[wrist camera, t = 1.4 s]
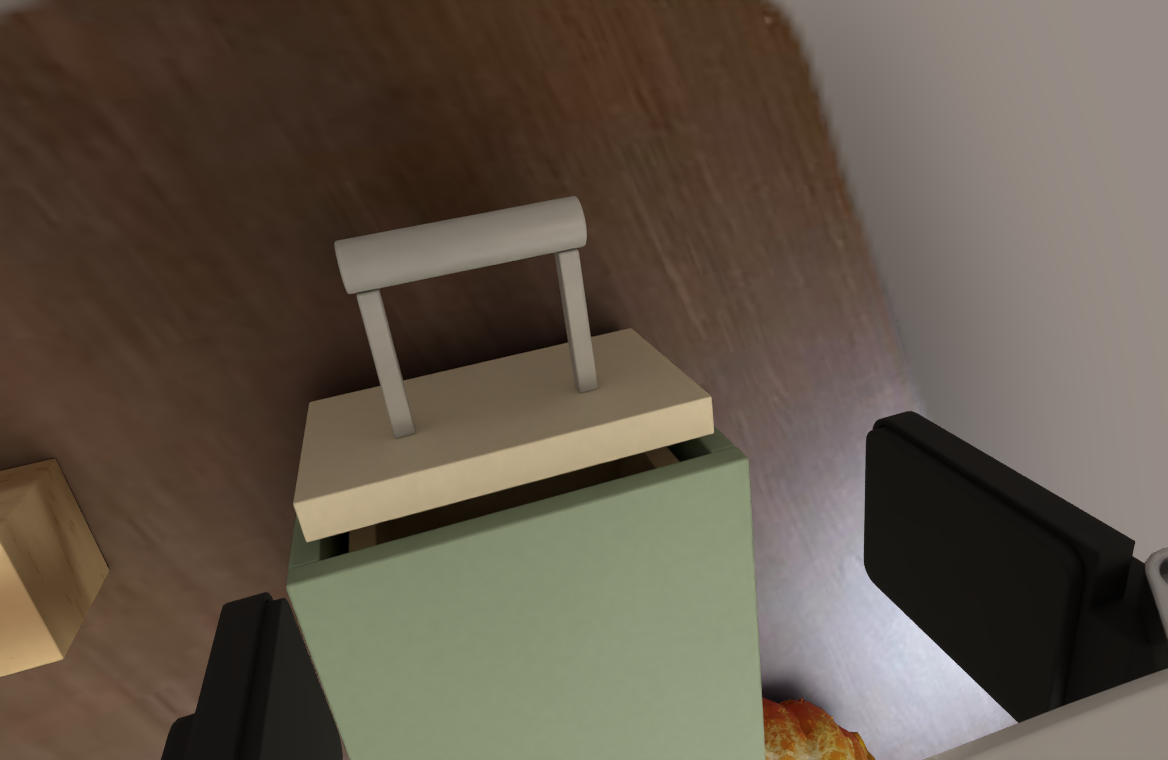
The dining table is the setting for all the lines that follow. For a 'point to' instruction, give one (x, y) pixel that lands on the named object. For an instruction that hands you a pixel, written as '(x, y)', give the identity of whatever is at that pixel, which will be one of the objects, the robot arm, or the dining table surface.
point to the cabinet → (550, 625)
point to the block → (43, 566)
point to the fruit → (807, 734)
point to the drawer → (485, 396)
